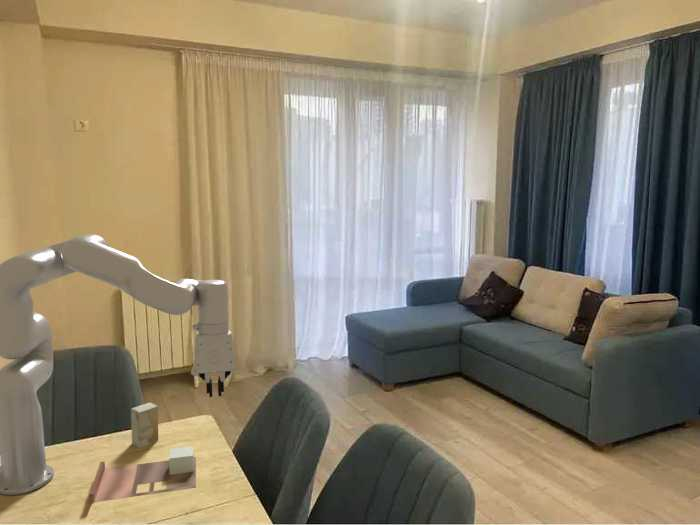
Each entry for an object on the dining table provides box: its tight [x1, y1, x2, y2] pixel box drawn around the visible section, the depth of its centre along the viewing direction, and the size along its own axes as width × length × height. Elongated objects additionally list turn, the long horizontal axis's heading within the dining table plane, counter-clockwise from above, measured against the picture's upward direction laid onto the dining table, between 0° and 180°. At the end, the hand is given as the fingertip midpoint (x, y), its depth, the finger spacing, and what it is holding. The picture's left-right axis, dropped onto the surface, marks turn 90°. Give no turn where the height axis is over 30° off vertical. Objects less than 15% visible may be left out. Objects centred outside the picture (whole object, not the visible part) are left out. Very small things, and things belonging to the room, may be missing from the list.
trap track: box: [89, 456, 197, 509], centre depth 132 cm, size 24×15×4 cm, turn 107°
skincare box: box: [130, 402, 159, 449], centre depth 150 cm, size 6×4×12 cm
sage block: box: [168, 446, 195, 475], centre depth 137 cm, size 6×5×4 cm
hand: (215, 394), depth 137 cm, fingers closed
